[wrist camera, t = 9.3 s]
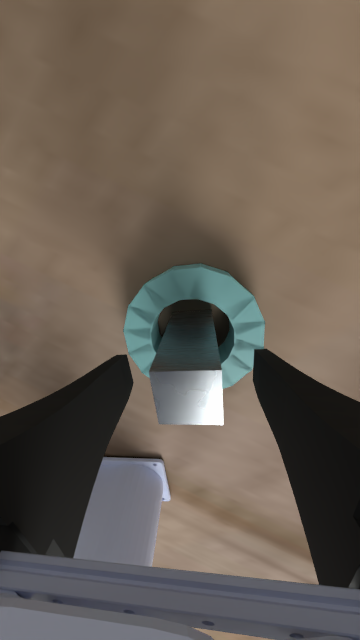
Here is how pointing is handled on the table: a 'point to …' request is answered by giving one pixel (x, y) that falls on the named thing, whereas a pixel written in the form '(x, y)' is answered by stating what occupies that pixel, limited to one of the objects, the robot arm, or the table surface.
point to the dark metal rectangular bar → (188, 371)
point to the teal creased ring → (205, 287)
